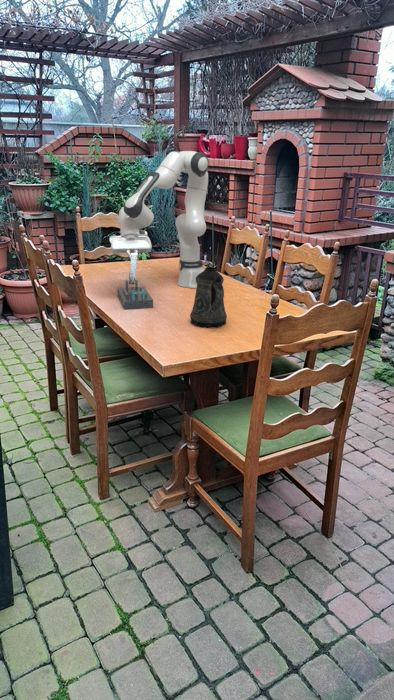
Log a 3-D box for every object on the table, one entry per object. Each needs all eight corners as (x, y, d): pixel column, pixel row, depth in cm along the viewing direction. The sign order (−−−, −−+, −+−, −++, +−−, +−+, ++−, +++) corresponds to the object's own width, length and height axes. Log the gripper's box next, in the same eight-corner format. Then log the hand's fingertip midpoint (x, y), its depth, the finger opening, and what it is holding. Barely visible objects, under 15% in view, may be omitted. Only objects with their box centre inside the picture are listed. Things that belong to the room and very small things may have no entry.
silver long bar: (134, 284, 270) (133, 282, 271) (137, 254, 251) (137, 252, 252) (128, 284, 269) (128, 282, 270) (131, 254, 250) (131, 252, 251)
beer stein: (205, 314, 245) (206, 262, 236) (239, 323, 233) (241, 268, 224) (182, 322, 233) (183, 267, 224) (216, 332, 221) (218, 275, 212)
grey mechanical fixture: (143, 293, 276) (143, 278, 273) (153, 308, 252) (153, 291, 249) (117, 295, 273) (117, 279, 269) (124, 309, 249) (124, 292, 246)
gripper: (109, 232, 255) (112, 255, 250) (150, 231, 261) (153, 254, 255) (108, 239, 261) (111, 262, 256) (148, 239, 266) (152, 261, 261)
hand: (132, 258), depth 256 cm, fingers closed, pressing on silver long bar
